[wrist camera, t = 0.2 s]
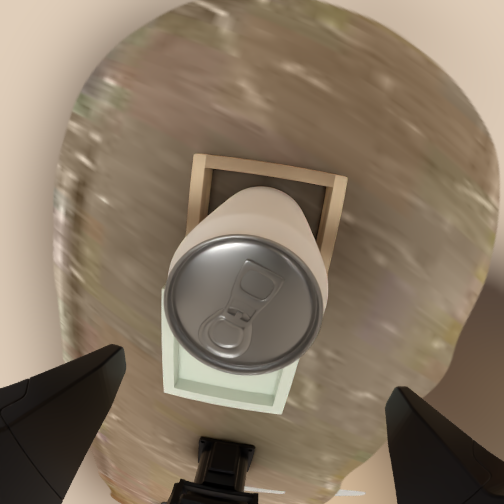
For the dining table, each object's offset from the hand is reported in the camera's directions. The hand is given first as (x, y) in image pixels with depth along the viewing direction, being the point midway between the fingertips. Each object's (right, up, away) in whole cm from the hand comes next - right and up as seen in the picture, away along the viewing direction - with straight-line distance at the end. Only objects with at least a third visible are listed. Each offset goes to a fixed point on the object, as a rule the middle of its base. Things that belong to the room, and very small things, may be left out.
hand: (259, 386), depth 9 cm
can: (0, +6, +13) cm, 14 cm away
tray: (-2, -4, +16) cm, 17 cm away
